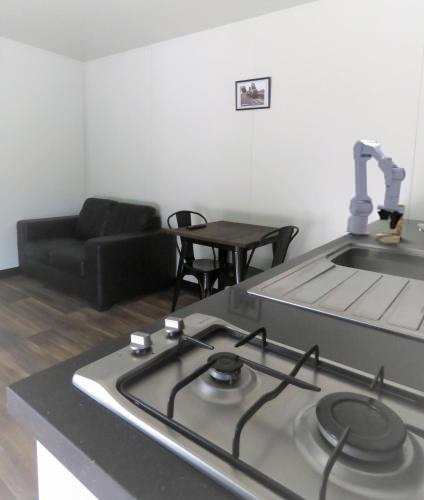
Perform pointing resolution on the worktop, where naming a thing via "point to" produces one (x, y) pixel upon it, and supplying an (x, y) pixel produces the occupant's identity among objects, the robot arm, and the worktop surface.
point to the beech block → (387, 238)
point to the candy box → (399, 225)
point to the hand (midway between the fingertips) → (388, 227)
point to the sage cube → (386, 227)
